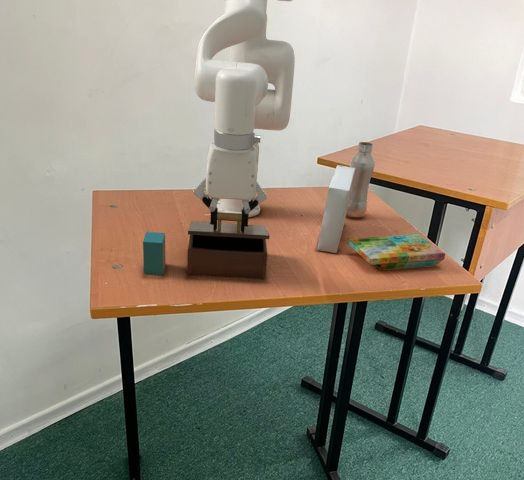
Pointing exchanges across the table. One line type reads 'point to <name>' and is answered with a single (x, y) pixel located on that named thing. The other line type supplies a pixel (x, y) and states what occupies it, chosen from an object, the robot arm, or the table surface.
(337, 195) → the skincare box
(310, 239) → the table surface
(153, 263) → the block
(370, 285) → the table surface
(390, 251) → the puzzle game
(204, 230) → the lid
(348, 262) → the table surface
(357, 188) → the silver metal bottle
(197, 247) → the chest
